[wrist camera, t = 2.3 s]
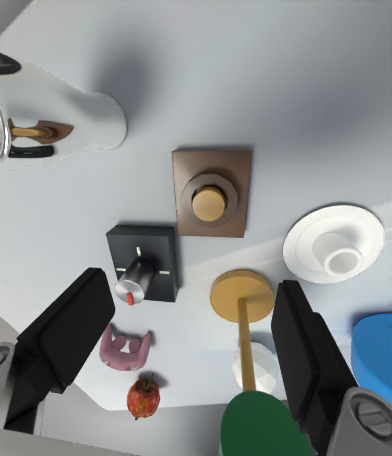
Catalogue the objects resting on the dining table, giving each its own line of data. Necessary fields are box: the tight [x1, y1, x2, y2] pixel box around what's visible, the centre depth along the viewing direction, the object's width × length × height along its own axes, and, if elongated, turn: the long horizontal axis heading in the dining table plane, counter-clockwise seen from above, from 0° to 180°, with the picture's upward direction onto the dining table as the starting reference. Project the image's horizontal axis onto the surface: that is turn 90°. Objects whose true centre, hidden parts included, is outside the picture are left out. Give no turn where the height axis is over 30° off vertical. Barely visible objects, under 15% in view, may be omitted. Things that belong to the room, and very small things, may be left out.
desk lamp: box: [210, 270, 311, 456], centre depth 23 cm, size 10×10×22 cm
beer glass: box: [0, 53, 127, 170], centre depth 17 cm, size 7×7×15 cm
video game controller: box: [99, 325, 151, 371], centre depth 40 cm, size 10×5×7 cm, turn 84°
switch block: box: [172, 149, 252, 238], centre depth 24 cm, size 11×9×4 cm
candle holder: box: [283, 205, 384, 283], centre depth 25 cm, size 12×12×4 cm
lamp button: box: [192, 186, 225, 221], centre depth 22 cm, size 4×4×2 cm
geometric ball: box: [231, 342, 279, 394], centre depth 35 cm, size 8×8×8 cm
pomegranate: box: [127, 373, 160, 420], centre depth 45 cm, size 7×7×10 cm
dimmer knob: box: [115, 260, 155, 306], centre depth 27 cm, size 4×4×5 cm
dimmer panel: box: [106, 225, 179, 302], centre depth 31 cm, size 12×9×3 cm
